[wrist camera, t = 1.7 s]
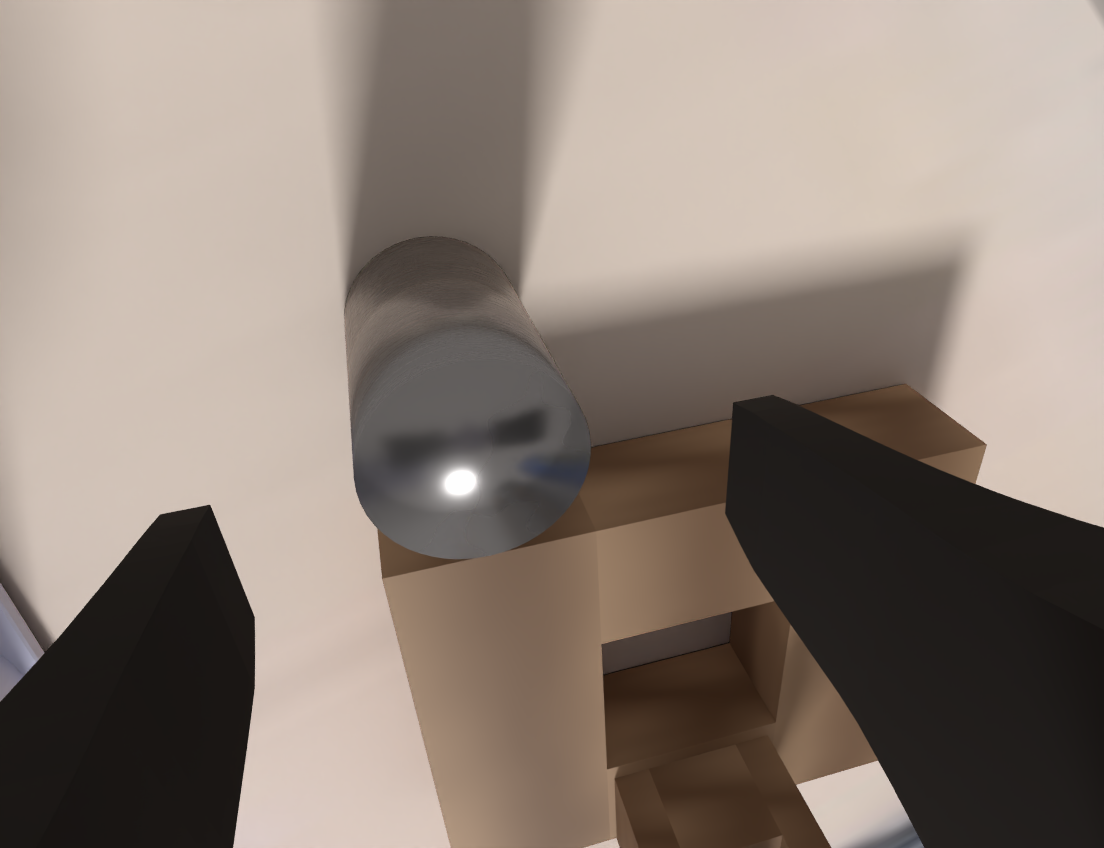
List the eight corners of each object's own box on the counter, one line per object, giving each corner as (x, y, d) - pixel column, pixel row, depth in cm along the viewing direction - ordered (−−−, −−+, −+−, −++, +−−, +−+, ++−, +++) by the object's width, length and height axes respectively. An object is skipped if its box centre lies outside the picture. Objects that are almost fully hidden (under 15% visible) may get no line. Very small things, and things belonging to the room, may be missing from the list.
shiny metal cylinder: (363, 408, 17) (379, 580, 12) (326, 251, 15) (328, 385, 10) (524, 379, 17) (594, 532, 13) (508, 224, 15) (586, 340, 11)
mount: (446, 789, 24) (486, 1059, 19) (373, 491, 18) (400, 761, 12) (842, 680, 27) (989, 888, 21) (905, 383, 20) (1146, 564, 14)
